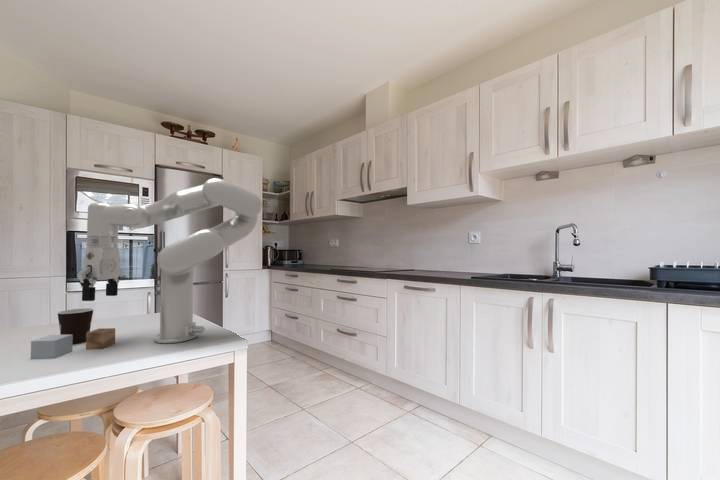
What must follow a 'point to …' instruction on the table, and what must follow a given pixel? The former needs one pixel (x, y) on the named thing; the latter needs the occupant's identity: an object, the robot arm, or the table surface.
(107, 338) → the walnut block
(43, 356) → the slate block
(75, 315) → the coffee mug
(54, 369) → the table surface
